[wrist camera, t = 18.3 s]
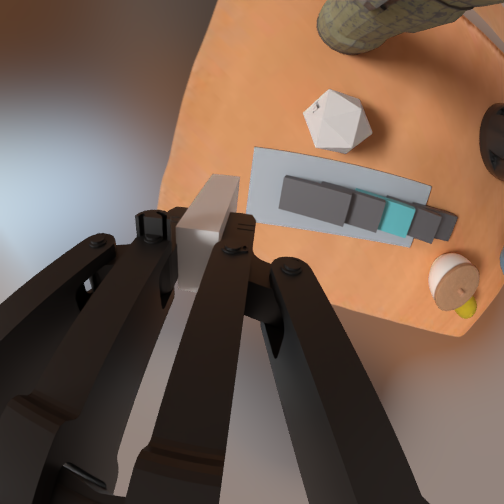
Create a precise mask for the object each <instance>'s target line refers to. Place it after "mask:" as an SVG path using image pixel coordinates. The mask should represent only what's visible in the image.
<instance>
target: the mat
mask: <svg viewBox="0 0 504 504" xmlns="http://www.w3.org/2000/svg"><path fill="white" fill-rule="evenodd" d="M286 175H289V176H293V177H297V178H301V179H305V180H309V181H313V182H317V183H322V181H324V182H328V183H331V184H335V185H338V186H342V187H345V188H349V189H352V190H355V189H356V188H358V189H361V190H365V191H368V192H371V193H374V194H377V195H381V196H384V197H387V195H388V196H392V197H395V198H397V199H400V200H403V201H406V202H409V203H413V202H416V203H419V204H423V205H426V203H427V200H428V197H429V194H430V190H431V186H429V185H426V184H423V183H420V182H417V181H413V180H410V179H407V178H403V177H400V176H396V175H393V174H389V173H385V172H382V171H378V170H374V169H370V168H366V167H362V166H358V165H353V164H349V163H345V162H340V161H336V160H331V159H326V158H321V157H316V156H311V155H305V154H300V153H294V152H288V151H282V150H275V149H268V148H261V147H254V154H253V162H252V170H251V178H250V185H249V193H248V201H247V209H246V214H251V215H253V217H254V218H255V219H256V222H257V223H264V224H271V225H278V226H285V227H291V228H298V229H304V230H311V231H317V232H323V233H330V234H336V235H342V236H348V237H354V238H359V239H365V240H371V241H377V242H382V243H388V244H393V245H399V246H404V247H409V248H410V246H411V243H412V241H413V237H410V236H407V235H406V238H402V237H399V236H396V235H393V234H390V233H387V232H384V231H381V230H378V229H377V232H376V233H374V232H371V231H368V230H365V229H362V228H358V227H355V226H352V225H349V224H345V223H344V226H343V227H341V226H338V225H334V224H331V223H328V222H324V221H321V220H317V219H314V218H310V217H307V216H303V215H300V214H296V213H292V212H289V211H285V210H281V209H278V208H279V202H280V196H281V191H282V185H283V179H284V177H285V176H286Z"/></svg>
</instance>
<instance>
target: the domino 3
mask: <svg viewBox="0 0 504 504" xmlns="http://www.w3.org/2000/svg"><path fill="white" fill-rule="evenodd" d="M387 198H390V199H393V200H396V201H399V202H402V203H405V204H407V205H410V206H413V207H414V208H415V213H414V216H413V219H412V222H411V224H410V227H409V230H408V232H407V236H410V237H413V238H416V239H419V240H422V241H425V242H427V243H430V244H432V241H433V239H434V236H435V234H436V231H437V229H438V226H439V224H440V221H441V218H442V217H441V215H440V214H439V213H436V212H434V211H431V210H428V209H426V208H423V207H420V206H417V205H415V204H412V203H409V202H406V201H403V200H400V199H397V198H395V197H392V196H388V195H387Z"/></svg>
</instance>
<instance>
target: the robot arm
mask: <svg viewBox="0 0 504 504" xmlns="http://www.w3.org/2000/svg"><path fill="white" fill-rule="evenodd" d="M480 151H481V155H482V159H483V162H484V164H485V166H486V168H487V169H488V171H489V172H490V173H491V174H492V175H493V176H495V177H497V178H498V179H500V180H502V181H504V103H497V104H494V105H492V106H491V107H490V108H489V109H488V110H487V112H486V113H485V115H484V117H483V120H482V123H481V128H480ZM239 181H240V177H238V176H229V175H220V174H212V176H211V177H210V178H209V180H208V181H207V182H206V184H205V185H204V187H203V188H202V189H201V191H200V192H199V194H198V195H197V196H196V198H195V199H194V201H193V202H192V204H191V205H190V206H189V208H185V207H175V208H173V209H171V210H169V211H168V212H166V211H162V210H147V211H143V212H140V213H138V214H137V215H135V219H136V231H137V237H136V238H135V240H134V241H133V242H132V243H131V244H127V245H116V242H115V238H114V236H112V235H110V234H105V233H101V234H100V233H99V234H96V235H92V236H90V237H88V238H86V239H85V240H83V241H82V242H80V243H79V244H77V245H76V246H75V247H73V248H72V249H71V250H69V251H67V252H66V253H65V254H63V255H62V256H61V257H59V258H58V259H56V260H55V261H54V262H53V263H51V264H50V265H48V266H47V267H46V268H44V269H43V270H42V271H40V272H39V273H38V274H36V275H35V276H34V277H33V278H31V279H30V280H29V281H28V282H26V283H25V284H24V285H23V286H21V287H20V288H19V289H18V290H17V291H15V292H14V293H13V294H12V295H11V296H9V297H8V298H7V299H6V300H5V301H4V302H3V303H1V304H0V504H219V498H220V491H221V483H222V476H223V467H224V460H225V453H226V445H227V437H228V430H229V423H230V414H231V407H232V399H233V392H234V385H235V377H236V370H237V362H238V355H239V347H240V340H241V332H242V324H243V317H244V315H246V316H248V317H251V318H253V319H256V320H258V321H261V330H262V333H263V337H264V341H265V345H266V349H267V352H268V356H269V360H270V364H271V368H272V371H273V375H274V379H275V382H276V386H277V390H278V393H279V397H280V401H281V405H282V408H283V412H284V416H285V419H286V423H287V426H288V430H289V434H290V437H291V441H292V444H293V448H294V452H295V455H296V459H297V463H298V466H299V470H300V473H301V477H302V480H303V484H304V487H305V490H306V494H307V498H308V501H309V504H429V503H428V502H427V501H426V500H425V499H424V498H423V497H422V496H421V493H420V491H419V488H418V486H417V483H416V481H415V478H414V476H413V473H412V471H411V468H410V466H409V464H408V461H407V459H406V457H405V454H404V452H403V450H402V448H401V445H400V443H399V441H398V438H397V436H396V434H395V432H394V430H393V428H392V425H391V423H390V421H389V419H388V417H387V414H386V412H385V410H384V408H383V406H382V404H381V402H380V400H379V397H378V395H377V393H376V391H375V389H374V387H373V385H372V383H371V381H370V379H369V377H368V375H367V373H366V371H365V369H364V367H363V365H362V363H361V361H360V359H359V357H358V355H357V353H356V351H355V349H354V347H353V345H352V343H351V341H350V339H349V338H348V336H347V334H346V332H345V330H344V328H343V326H342V324H341V322H340V321H339V319H338V317H337V315H336V313H335V311H334V309H333V308H332V306H331V304H330V302H329V300H328V298H327V296H326V295H325V293H324V291H323V289H322V287H321V285H320V284H319V282H318V280H317V278H316V276H315V275H314V273H313V271H312V269H311V268H310V267H309V265H308V264H307V263H305V262H304V261H302V260H300V259H298V258H294V257H279V258H277V259H275V260H274V261H273V262H272V264H270V263H267V262H265V261H262V260H261V259H259V258H257V257H256V256H255V255H254V253H253V241H254V233H255V225H256V219H255V218H254V217H253V215H251V214H243V213H236V210H237V200H238V191H239ZM500 266H501V269H502V272H503V274H504V247H503V249H502V251H501V254H500ZM87 279H89V280H90V283H91V287H92V289H90V290H89V291H86V289H85V286H84V282H85V281H86V280H87ZM177 279H178V289H180V290H186V291H192V292H197V294H196V297H195V300H194V303H193V306H192V309H191V312H190V314H189V318H188V321H187V324H186V327H185V329H184V332H183V335H182V339H181V342H180V345H179V348H178V351H177V354H176V357H175V361H174V364H173V367H172V370H171V373H170V376H169V379H168V383H167V386H166V389H165V393H164V396H163V399H162V403H161V406H160V410H159V413H158V416H157V420H156V423H155V427H154V430H153V434H152V437H151V440H150V442H149V444H148V445H147V446H146V447H145V448H144V449H142V450H141V452H140V454H139V455H138V457H137V460H136V463H135V465H134V468H133V472H132V476H131V479H130V483H129V487H128V491H127V495H126V497H120V496H115V495H113V493H114V489H115V484H116V481H117V477H118V462H117V454H118V450H119V446H120V443H121V440H122V437H123V434H124V430H125V427H126V424H127V422H128V419H129V416H130V413H131V410H132V407H133V404H134V401H135V398H136V395H137V392H138V389H139V387H140V384H141V381H142V378H143V375H144V373H145V370H146V367H147V365H148V362H149V359H150V357H151V354H152V352H153V349H154V347H155V344H156V341H157V339H158V336H159V334H160V331H161V329H162V326H163V324H164V321H165V319H166V316H167V314H168V311H169V309H170V306H171V304H172V302H173V299H174V295H175V293H174V285H175V283H176V281H177ZM63 465H64V466H63Z"/></svg>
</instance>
